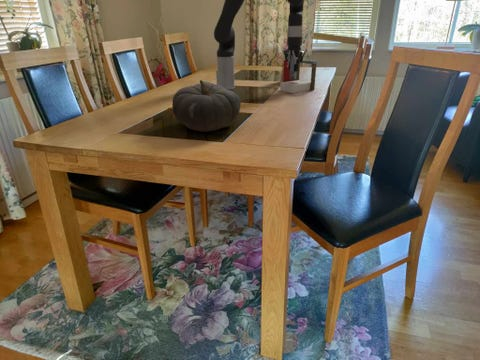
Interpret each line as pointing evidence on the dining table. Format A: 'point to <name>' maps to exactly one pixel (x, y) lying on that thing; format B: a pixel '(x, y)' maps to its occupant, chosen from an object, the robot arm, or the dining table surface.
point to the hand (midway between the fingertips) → (293, 70)
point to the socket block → (295, 86)
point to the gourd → (206, 107)
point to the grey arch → (313, 72)
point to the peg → (292, 68)
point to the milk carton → (285, 71)
